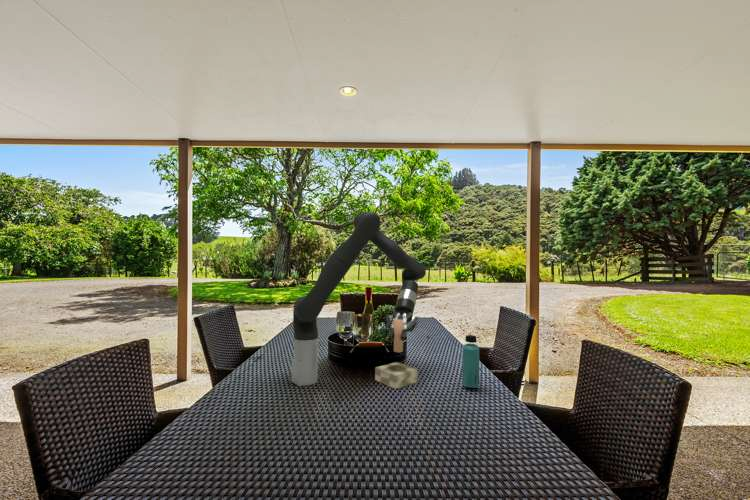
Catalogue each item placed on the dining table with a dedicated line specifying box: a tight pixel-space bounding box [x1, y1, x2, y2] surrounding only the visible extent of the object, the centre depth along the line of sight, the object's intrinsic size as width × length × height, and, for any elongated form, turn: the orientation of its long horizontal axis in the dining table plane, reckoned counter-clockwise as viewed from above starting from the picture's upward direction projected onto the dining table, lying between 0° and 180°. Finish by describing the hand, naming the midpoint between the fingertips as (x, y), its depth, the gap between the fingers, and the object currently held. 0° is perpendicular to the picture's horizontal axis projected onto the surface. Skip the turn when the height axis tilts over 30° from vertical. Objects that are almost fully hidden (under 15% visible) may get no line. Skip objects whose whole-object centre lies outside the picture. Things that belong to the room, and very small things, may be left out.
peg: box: [393, 319, 404, 353], centre depth 144 cm, size 4×4×12 cm
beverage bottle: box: [461, 334, 481, 389], centre depth 140 cm, size 6×7×20 cm
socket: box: [374, 361, 419, 390], centre depth 147 cm, size 12×12×5 cm
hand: (396, 338), depth 142 cm, fingers closed on peg, 3 cm apart
